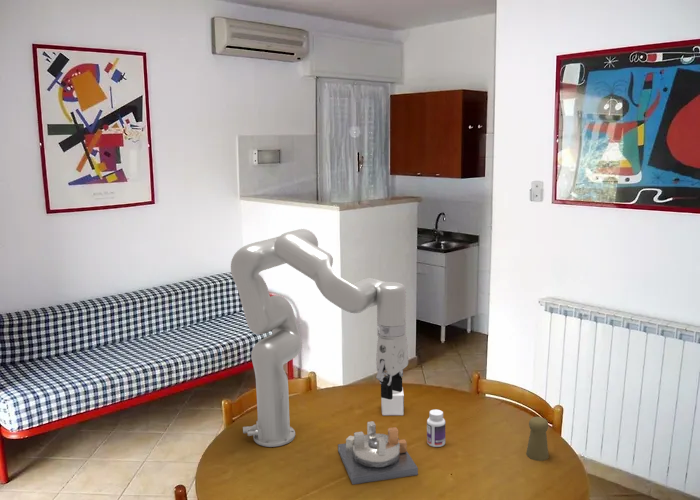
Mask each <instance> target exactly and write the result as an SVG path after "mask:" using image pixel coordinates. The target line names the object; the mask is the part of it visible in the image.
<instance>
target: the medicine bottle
mask: <svg viewBox="0 0 700 500" xmlns="http://www.w3.org/2000/svg"><path fill="white" fill-rule="evenodd" d="M384 377H385V378H387V379H388V376H387V375H384ZM380 399H381V404H380V405H381V414H382V416H404V415H405V394H404V387H403V386H402V391H401V392H398V391H394V390H393V398H392V399H391V400H390V399H385V398H382V397H381V396H380Z"/></svg>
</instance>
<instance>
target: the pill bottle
mask: <svg viewBox="0 0 700 500" xmlns="http://www.w3.org/2000/svg"><path fill="white" fill-rule="evenodd" d="M426 443H427V445H429V446H430V447H433V448H440V447H443V446H445V445H446V419H445V418H444V411H442V410H440V409H431V410H429V417H428V418H427V420H426Z"/></svg>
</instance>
